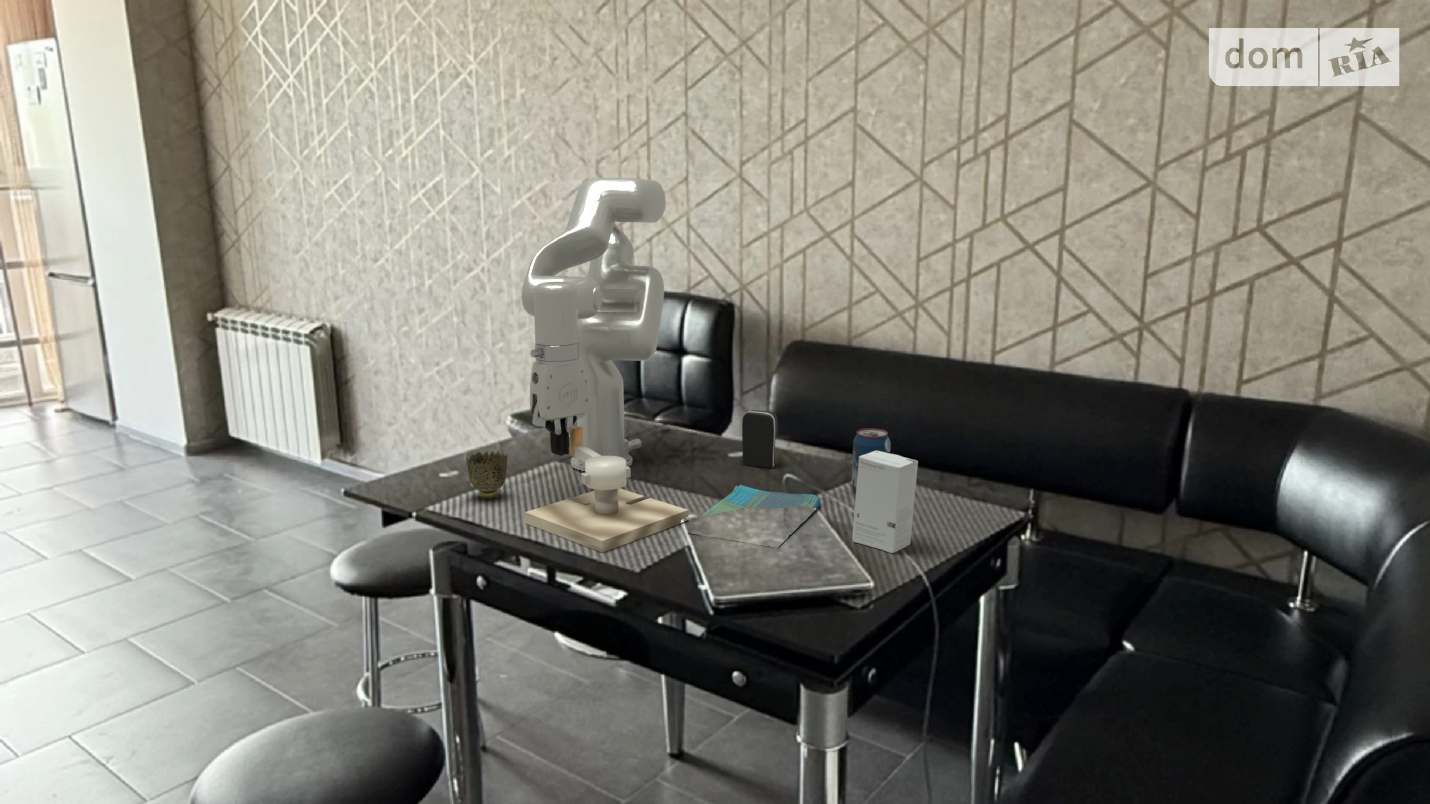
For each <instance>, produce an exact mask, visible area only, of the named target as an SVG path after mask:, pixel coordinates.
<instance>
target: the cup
mask: <svg viewBox="0 0 1430 804" xmlns="http://www.w3.org/2000/svg"><path fill="white" fill-rule="evenodd" d="M465 459H466V464H467V465H466V466H467V470H468V476H469V480H470V483H471V485H472V486H473V487H472V488H474V489H475V490H477V491H478V495H479V497H480V499H482V498H484V499H483V500H491V499H490V498H494V499H496V498H498V496H499V493H500V491H499V489H501V488H502V487H503V486H504V484H505V482H506V478H507V467H508V453H506V454H505V452H502V454H500V452H499V451H498V450H497V451H496V452H495V451H494V450H492V451H491V452H490V453H489V451H488V450H486V451H485V452H484V454H482V452H480V451H477V452H475V453H474V454H473V453H470V454H469V458H468V457H466V458H465Z"/></svg>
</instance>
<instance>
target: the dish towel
mask: <svg viewBox="0 0 1430 804" xmlns="http://www.w3.org/2000/svg"><path fill="white" fill-rule="evenodd" d="M797 506H807V507H810V508H817V509H818V508H819V507H820V506H821V499H820V497H818V496H817V494H808V493H789V492H781V491H780V492H779V491H767V490H761V489H757V488H756V489H755V488H753V487H749V486H746V485H742V484H740V485H739V486H738V485H735V487H734V488H733V490H732V492H730V493H729V494H727V496H725V497H724V498H722V499H721V500H720V501H718V502H717V503H715V504H714V505H713V506H712V507H710V508H709V509H708V510H707V511H705V512H704V513H703V514H701V516H704V515H712V514H717V513H721V512H725V511H736V510H739V509H742V508H744V509H771V508H790V507H797Z"/></svg>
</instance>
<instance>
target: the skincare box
mask: <svg viewBox="0 0 1430 804" xmlns="http://www.w3.org/2000/svg"><path fill="white" fill-rule="evenodd" d="M918 466H919V460H916V459H912V458H908V457H904V456H902V455H899V454H894V453H890V454H889V453H885V452H881V451H873V452H870V453H868V454H865V455H862V456H859V464H858V475H857V487H856V494H855V502H854V511H853V512H854V513H853V521H852V522H853V524H852V535H851V538H852V543H857V544H859V545H860V544H861V545H864V546H866V547H871V548H874V549H879V550H881V551H885V552H887V553H891V554H894V553H897V552H898V551H900V550H902V549H904V548H907V547H908V546H910V544H911V539H912V531H913V530H912V529H913V519H914V509H915V499H916V490H917V489H916V487H917V479H918V478H917V476H918ZM907 545H908V546H907Z"/></svg>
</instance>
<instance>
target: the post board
mask: <svg viewBox="0 0 1430 804" xmlns="http://www.w3.org/2000/svg"><path fill="white" fill-rule="evenodd" d="M685 517H688V518H689V510H688V509H687V508H683V507H680V506H677V505H674V504H670V503H668V502H664V501H662V500H661V501H660V500H658V499H655V498H652V497H651V496H649V495H641V494H639V493H636V492H633V491H629V490H627V489H624V488H623V489H622V488H618V489H613V490H596V489H594V490H592V491H589V492H586V493H582V494H579V495H576V496H570V497H567V498H566V499H563V500H560V501H556V502H553V503H550V504H546V505H544V506H540V507H537V508H534V509H531V510H528V511H524V524H526V525H529V526H532V527H534V528H537V529H539V530H542V531H545V532H548V533H550V534H551V535H554V536H555V535H556V536H558V537H560V538H563V539H566V540H568V541H571V542H573V543H576V544H579V545H582V546H584V547H587V548H589V549H593V550H594V551H598V552H600V553H605V552H609V551H611V550H613V549H616V548H618V547H621V546H624V545H627V544H629V543H630V544H631V543H632V542H636V541H638V540H639V539H642V538H646V537H648V536H651V535H654V534H656V533H659V532H663V531H665V530H667V528H668V529H670V528H672V527H673V528H674V527H675V525H676V526H678V525H680V524H679V523H680V522H681V520H682V519H683V518H685Z"/></svg>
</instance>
